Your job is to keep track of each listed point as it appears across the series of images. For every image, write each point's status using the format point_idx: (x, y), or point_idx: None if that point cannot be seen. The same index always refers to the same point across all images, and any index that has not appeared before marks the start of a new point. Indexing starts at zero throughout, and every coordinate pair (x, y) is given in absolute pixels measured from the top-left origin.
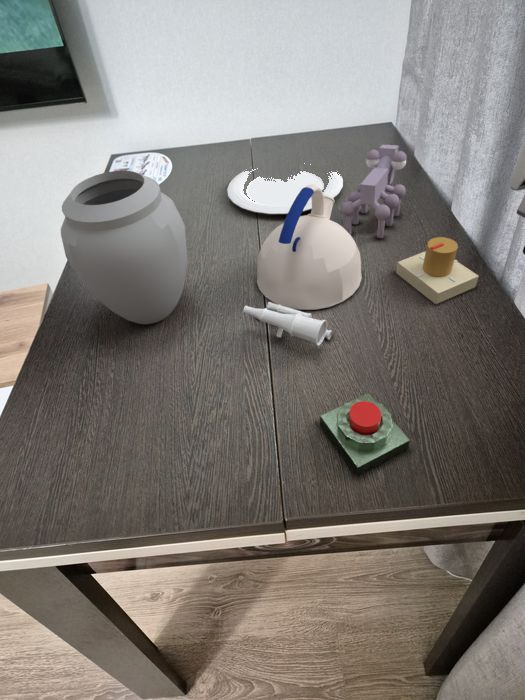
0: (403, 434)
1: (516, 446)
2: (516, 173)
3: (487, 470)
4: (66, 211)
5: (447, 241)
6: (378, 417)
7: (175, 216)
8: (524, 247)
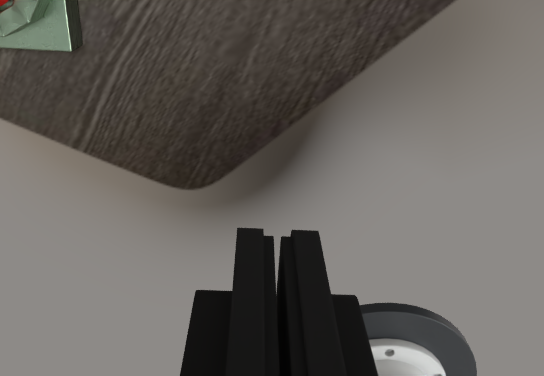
0: (66, 33)
1: (262, 142)
2: None
3: (185, 148)
4: None
5: None
6: None
7: None
8: (237, 241)
